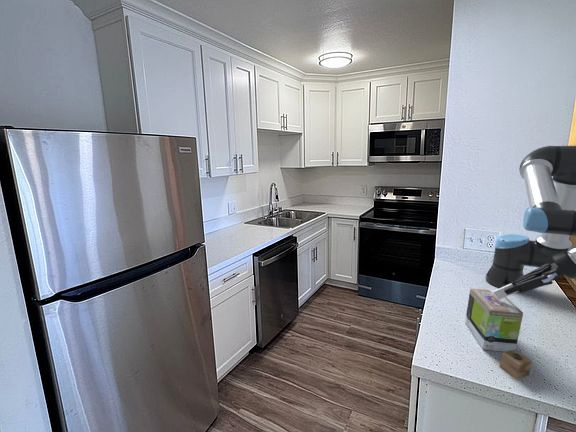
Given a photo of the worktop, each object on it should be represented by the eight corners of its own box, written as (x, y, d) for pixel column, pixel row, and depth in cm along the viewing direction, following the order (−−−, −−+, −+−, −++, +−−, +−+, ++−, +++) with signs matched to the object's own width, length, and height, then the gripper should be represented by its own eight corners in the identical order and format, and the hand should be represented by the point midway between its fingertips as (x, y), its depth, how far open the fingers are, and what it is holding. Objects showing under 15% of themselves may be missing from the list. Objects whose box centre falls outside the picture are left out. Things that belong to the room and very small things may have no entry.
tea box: (516, 353, 94) (525, 312, 90) (482, 350, 96) (489, 310, 92) (493, 325, 109) (499, 289, 105) (463, 322, 110) (469, 287, 107)
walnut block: (511, 363, 90) (514, 348, 89) (528, 375, 86) (532, 360, 84) (499, 367, 89) (502, 352, 88) (516, 379, 84) (519, 364, 83)
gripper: (589, 280, 77) (501, 313, 92) (586, 265, 86) (507, 297, 101) (566, 256, 79) (484, 292, 94) (566, 244, 88) (491, 278, 103)
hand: (496, 295), depth 98 cm, fingers closed
